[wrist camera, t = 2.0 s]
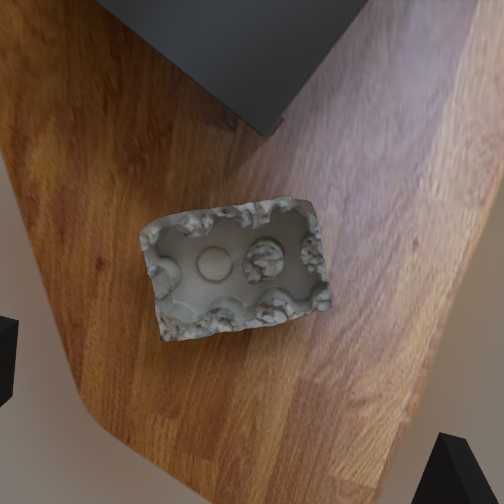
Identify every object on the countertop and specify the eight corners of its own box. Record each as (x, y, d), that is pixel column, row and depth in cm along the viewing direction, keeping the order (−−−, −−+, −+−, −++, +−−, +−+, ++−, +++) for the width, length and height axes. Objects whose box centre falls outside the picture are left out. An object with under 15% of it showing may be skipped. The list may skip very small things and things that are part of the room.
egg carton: (172, 319, 31) (152, 347, 27) (149, 209, 29) (124, 222, 25) (332, 303, 29) (335, 331, 25) (318, 186, 27) (319, 196, 23)
